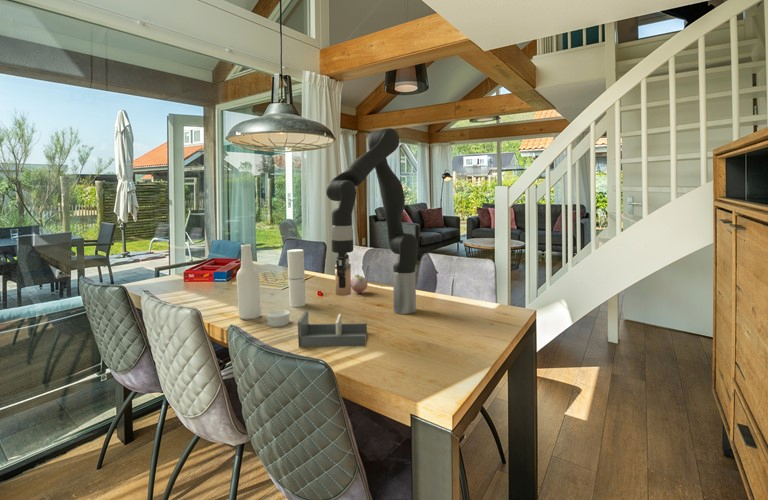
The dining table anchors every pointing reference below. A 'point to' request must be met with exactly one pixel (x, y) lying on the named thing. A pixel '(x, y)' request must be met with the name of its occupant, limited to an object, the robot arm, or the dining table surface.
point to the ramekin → (278, 318)
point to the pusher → (338, 325)
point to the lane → (330, 334)
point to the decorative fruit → (359, 283)
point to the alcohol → (248, 286)
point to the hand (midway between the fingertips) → (343, 285)
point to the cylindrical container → (296, 277)
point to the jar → (347, 289)
